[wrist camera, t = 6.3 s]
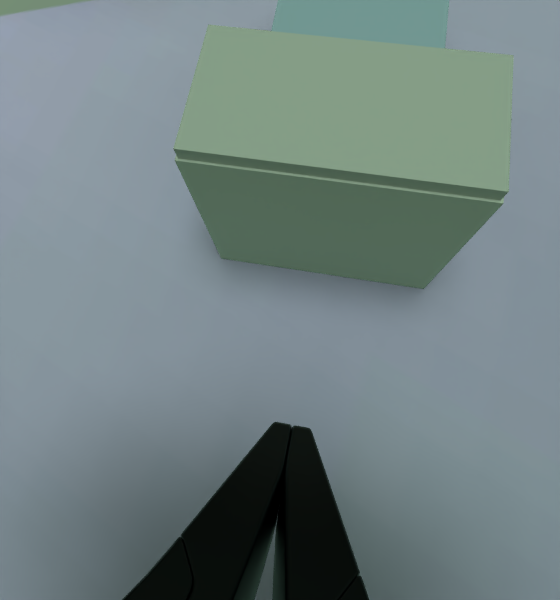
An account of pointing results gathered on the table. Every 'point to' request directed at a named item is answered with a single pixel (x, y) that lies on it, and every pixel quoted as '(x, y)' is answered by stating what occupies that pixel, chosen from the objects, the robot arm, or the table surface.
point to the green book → (345, 151)
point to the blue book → (367, 20)
